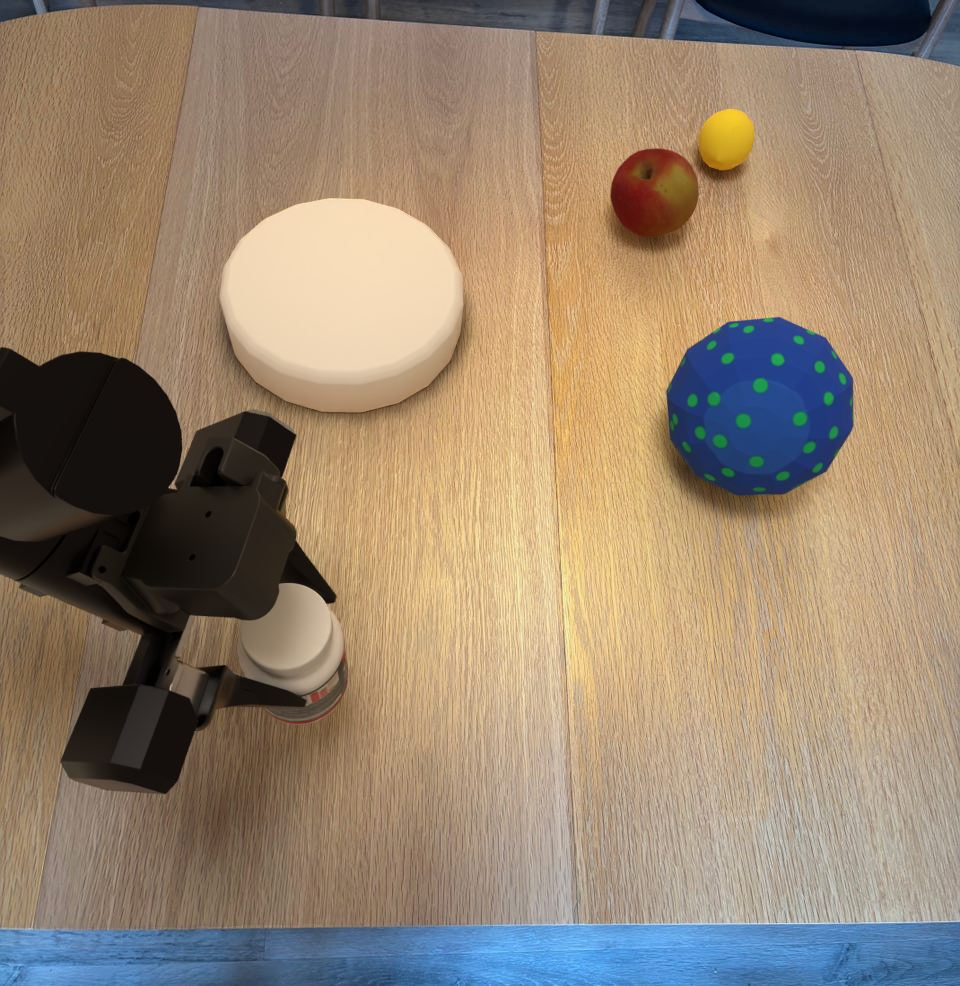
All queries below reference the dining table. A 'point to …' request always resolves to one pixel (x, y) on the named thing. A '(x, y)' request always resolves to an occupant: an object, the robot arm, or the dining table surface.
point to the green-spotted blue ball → (760, 406)
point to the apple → (654, 192)
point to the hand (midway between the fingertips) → (316, 651)
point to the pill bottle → (297, 653)
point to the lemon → (726, 139)
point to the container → (342, 304)
